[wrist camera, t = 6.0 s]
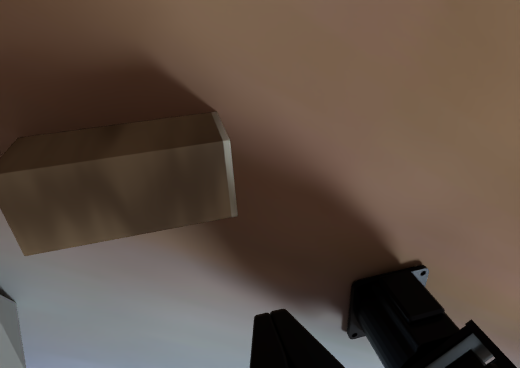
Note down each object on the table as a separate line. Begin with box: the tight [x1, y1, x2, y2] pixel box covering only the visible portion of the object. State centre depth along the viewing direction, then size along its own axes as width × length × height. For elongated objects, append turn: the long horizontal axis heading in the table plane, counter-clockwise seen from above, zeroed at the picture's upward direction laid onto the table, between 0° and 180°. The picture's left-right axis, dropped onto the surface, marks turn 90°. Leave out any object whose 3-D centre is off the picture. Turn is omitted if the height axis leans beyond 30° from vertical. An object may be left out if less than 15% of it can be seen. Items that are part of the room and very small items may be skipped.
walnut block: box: [0, 112, 238, 256], centre depth 17 cm, size 4×4×10 cm
